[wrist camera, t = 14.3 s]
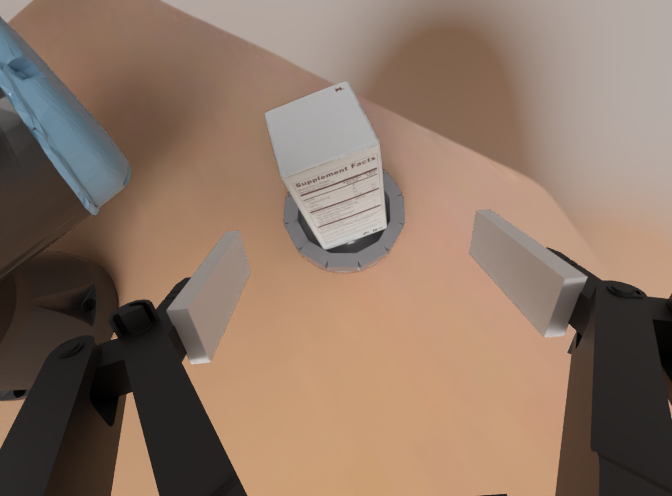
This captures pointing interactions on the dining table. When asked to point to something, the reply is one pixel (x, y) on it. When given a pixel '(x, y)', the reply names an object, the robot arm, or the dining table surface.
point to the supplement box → (330, 163)
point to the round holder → (354, 252)
